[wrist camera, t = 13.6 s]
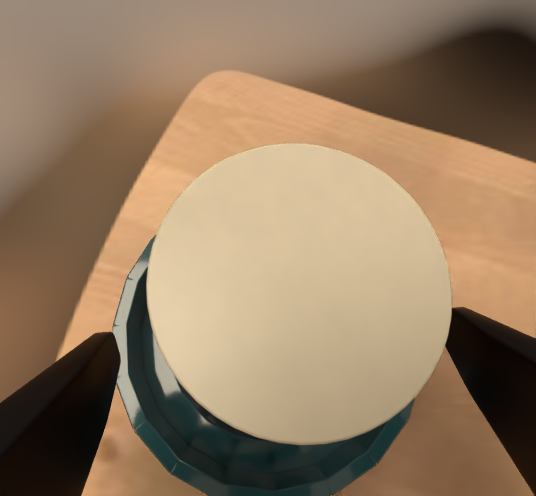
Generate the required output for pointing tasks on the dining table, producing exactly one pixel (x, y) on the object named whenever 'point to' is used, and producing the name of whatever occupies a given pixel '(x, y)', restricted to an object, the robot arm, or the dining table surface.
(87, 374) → the robot arm
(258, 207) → the snack tub
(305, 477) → the bowl
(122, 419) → the dining table surface
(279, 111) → the dining table surface
